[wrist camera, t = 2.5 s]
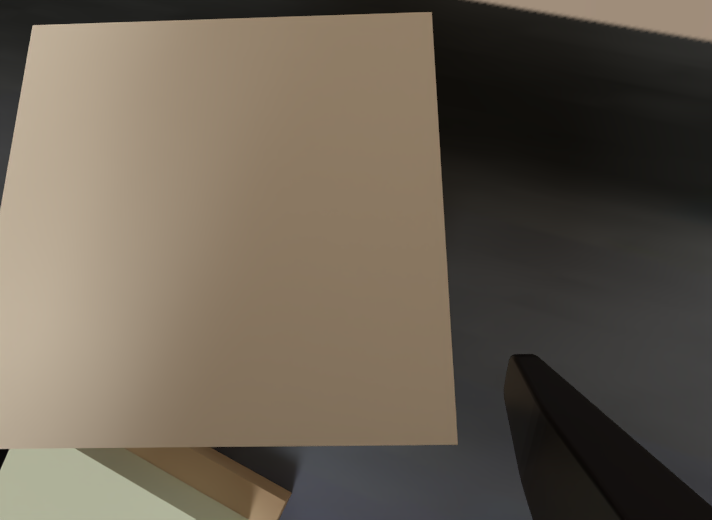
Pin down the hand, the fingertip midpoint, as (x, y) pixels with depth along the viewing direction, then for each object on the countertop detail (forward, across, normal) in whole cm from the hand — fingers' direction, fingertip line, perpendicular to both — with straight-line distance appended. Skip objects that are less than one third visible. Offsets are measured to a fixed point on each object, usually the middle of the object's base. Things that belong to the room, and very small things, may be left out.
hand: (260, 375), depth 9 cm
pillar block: (+8, 0, +5) cm, 10 cm away
